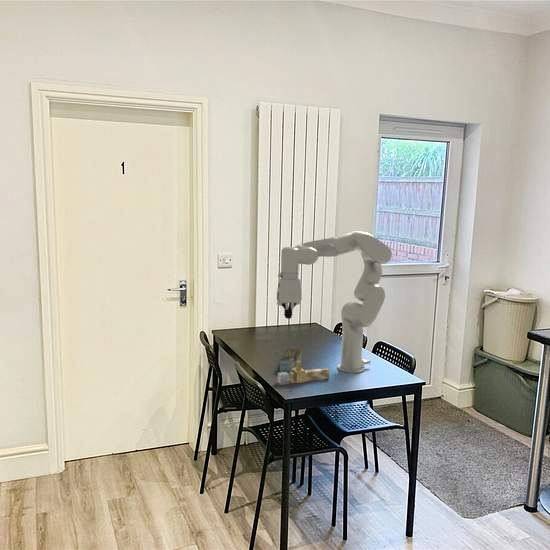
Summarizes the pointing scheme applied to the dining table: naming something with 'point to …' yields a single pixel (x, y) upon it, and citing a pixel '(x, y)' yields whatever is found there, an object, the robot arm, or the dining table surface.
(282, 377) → the block
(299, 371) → the lock collar
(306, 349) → the dining table surface
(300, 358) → the beverage carton
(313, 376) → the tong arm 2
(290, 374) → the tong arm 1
